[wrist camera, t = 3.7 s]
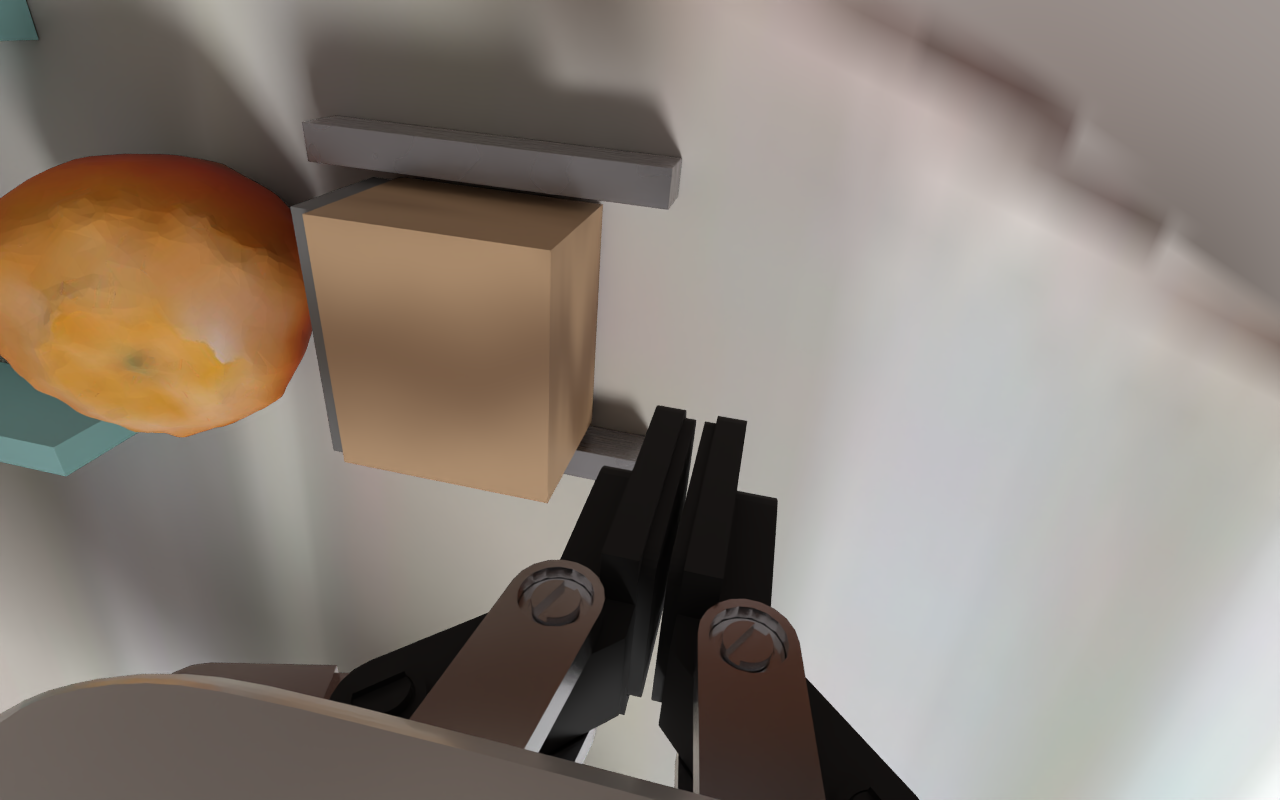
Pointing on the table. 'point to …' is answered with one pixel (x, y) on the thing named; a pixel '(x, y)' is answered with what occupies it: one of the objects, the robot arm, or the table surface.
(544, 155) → the launcher track
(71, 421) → the teal u-shaped frame
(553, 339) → the block
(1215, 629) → the table surface
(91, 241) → the fruit
